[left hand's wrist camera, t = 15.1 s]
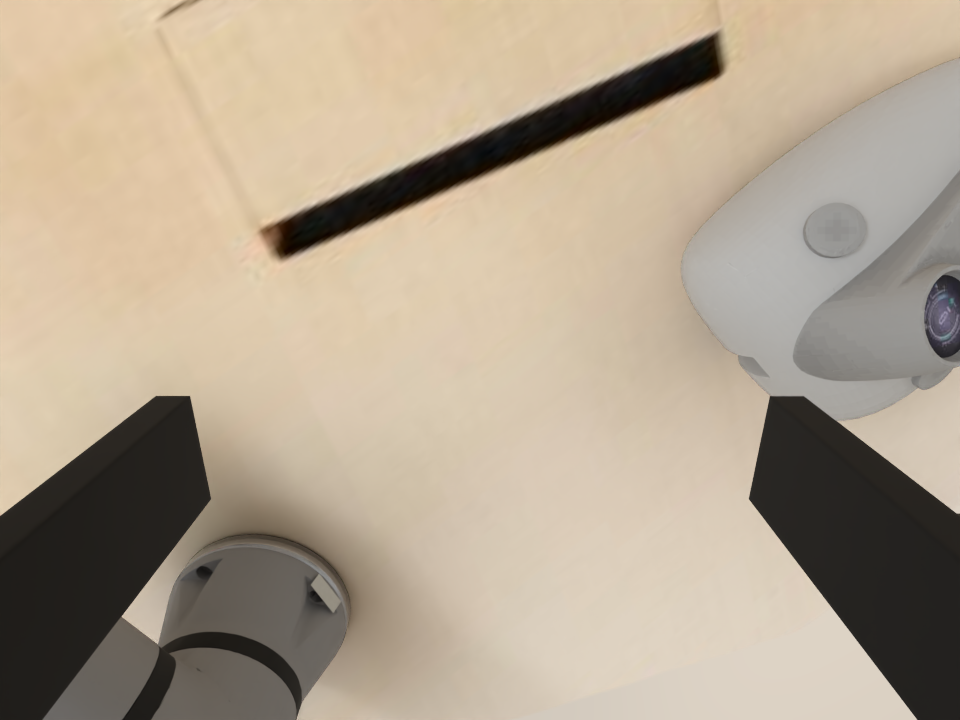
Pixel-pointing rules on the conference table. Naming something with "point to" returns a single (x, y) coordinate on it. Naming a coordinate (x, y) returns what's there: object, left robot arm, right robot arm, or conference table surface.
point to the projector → (845, 255)
